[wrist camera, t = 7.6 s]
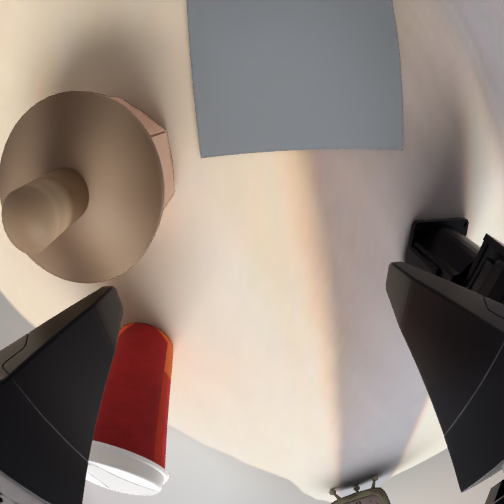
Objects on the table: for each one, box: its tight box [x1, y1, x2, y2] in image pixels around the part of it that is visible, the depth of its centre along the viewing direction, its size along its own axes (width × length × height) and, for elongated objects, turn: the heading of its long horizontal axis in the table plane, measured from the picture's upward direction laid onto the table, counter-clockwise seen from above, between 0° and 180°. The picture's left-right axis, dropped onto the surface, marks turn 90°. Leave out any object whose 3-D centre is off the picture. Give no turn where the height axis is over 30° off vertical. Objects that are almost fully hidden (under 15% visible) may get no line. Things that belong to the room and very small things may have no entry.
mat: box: [187, 0, 403, 158], centre depth 15 cm, size 14×14×1 cm
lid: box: [0, 91, 165, 283], centre depth 12 cm, size 11×11×5 cm
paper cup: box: [86, 323, 173, 495], centre depth 20 cm, size 8×8×14 cm
